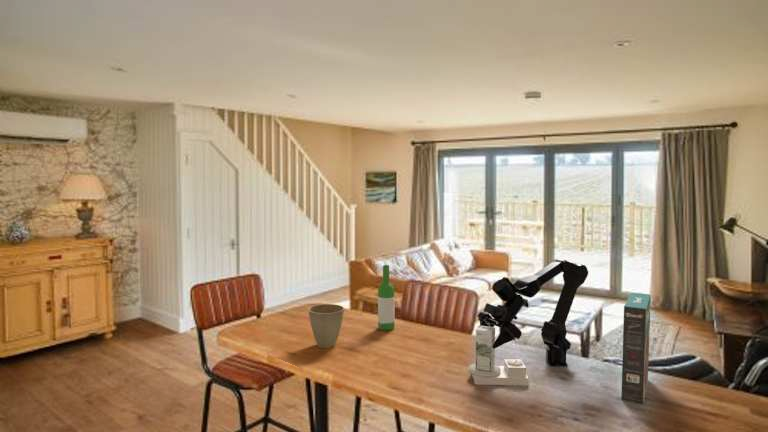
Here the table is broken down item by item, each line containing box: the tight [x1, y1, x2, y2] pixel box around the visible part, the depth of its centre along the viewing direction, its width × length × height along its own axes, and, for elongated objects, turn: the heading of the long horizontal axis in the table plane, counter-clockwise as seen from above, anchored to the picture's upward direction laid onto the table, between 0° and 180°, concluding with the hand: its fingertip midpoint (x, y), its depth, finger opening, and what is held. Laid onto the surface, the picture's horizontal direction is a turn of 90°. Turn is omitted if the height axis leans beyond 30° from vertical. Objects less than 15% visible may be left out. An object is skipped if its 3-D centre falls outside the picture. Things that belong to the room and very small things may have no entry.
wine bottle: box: [377, 264, 396, 331], centre depth 230 cm, size 8×8×30 cm
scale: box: [468, 358, 530, 386], centre depth 171 cm, size 20×11×6 cm, turn 87°
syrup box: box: [475, 325, 496, 372], centre depth 171 cm, size 6×6×14 cm
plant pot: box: [307, 303, 345, 349], centre depth 207 cm, size 15×15×16 cm
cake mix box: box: [621, 292, 652, 405], centre depth 161 cm, size 22×6×30 cm, turn 148°
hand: (484, 343), depth 171 cm, fingers open, 9 cm apart
